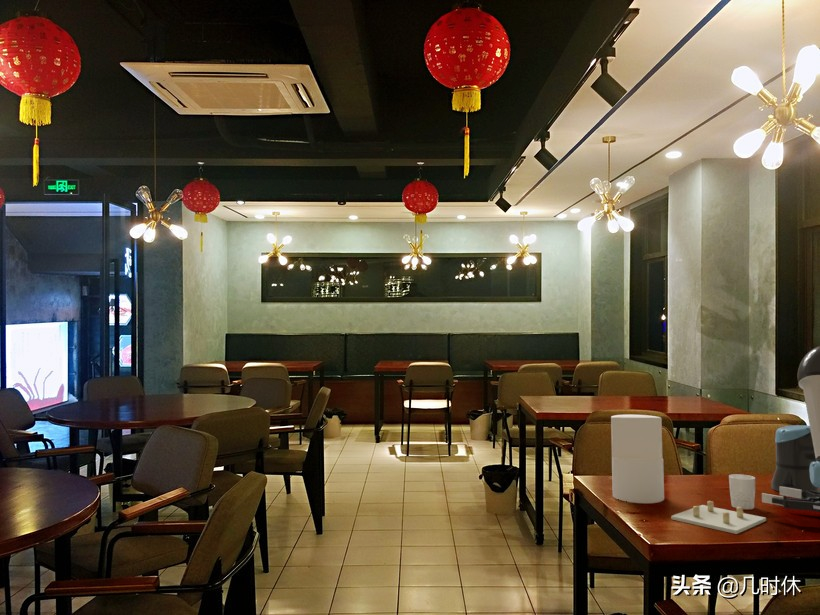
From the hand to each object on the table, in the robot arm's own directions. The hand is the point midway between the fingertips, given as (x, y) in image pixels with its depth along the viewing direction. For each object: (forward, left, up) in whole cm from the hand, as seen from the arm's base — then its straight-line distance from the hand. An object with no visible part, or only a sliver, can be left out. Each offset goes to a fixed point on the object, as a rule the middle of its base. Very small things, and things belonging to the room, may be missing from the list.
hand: (771, 494), depth 211 cm
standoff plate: (+21, +8, -6) cm, 23 cm away
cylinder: (+36, -21, -6) cm, 42 cm away
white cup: (+6, -7, -6) cm, 11 cm away
